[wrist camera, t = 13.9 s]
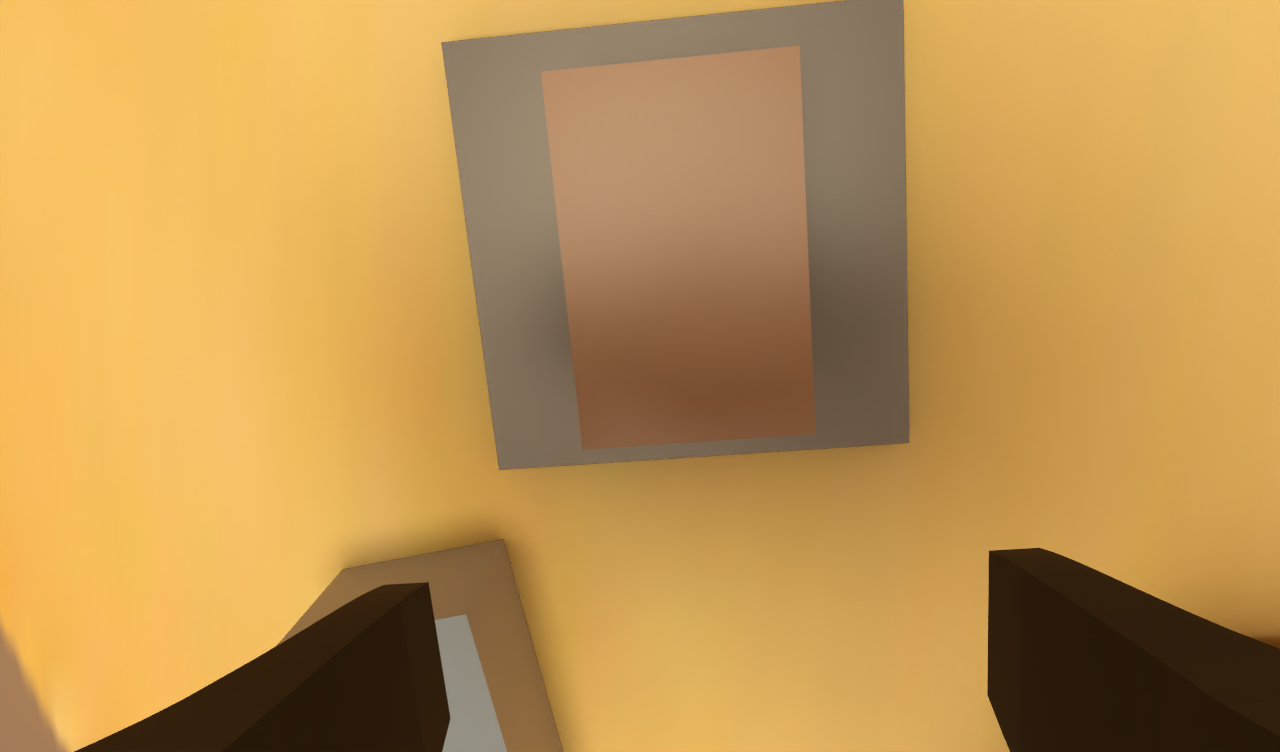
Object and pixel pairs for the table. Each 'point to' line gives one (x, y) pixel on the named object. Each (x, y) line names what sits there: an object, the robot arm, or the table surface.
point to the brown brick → (684, 246)
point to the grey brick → (468, 644)
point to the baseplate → (835, 204)
